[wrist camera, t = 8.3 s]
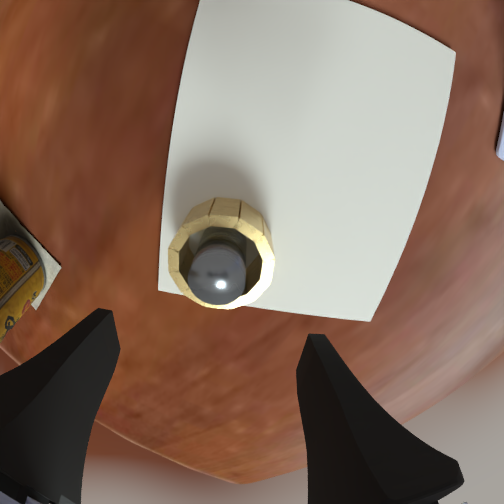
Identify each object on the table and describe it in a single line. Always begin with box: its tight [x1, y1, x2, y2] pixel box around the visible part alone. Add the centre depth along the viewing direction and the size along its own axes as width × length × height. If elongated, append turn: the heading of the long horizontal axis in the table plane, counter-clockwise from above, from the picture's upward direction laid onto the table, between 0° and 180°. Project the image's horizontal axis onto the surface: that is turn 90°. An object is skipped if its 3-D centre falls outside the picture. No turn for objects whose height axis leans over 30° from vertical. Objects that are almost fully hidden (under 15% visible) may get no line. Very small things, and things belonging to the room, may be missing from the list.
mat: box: [158, 0, 456, 321], centre depth 16 cm, size 16×21×1 cm
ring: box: [168, 197, 275, 309], centre depth 17 cm, size 6×6×3 cm
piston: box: [188, 226, 247, 305], centre depth 16 cm, size 3×3×4 cm
